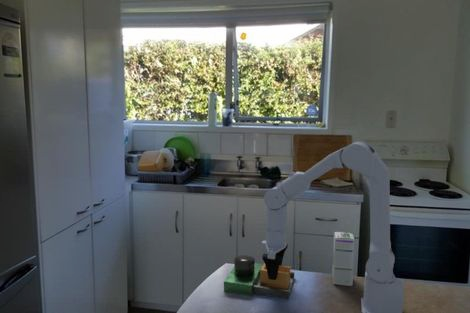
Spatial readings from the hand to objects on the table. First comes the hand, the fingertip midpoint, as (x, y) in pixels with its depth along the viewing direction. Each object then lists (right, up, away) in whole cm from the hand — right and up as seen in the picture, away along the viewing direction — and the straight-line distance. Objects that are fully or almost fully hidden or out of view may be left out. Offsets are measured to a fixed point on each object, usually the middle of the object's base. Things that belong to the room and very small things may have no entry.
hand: (274, 273), depth 111 cm
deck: (-4, -3, +1) cm, 5 cm away
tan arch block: (0, -3, 0) cm, 3 cm away
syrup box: (+21, -4, +4) cm, 21 cm away
